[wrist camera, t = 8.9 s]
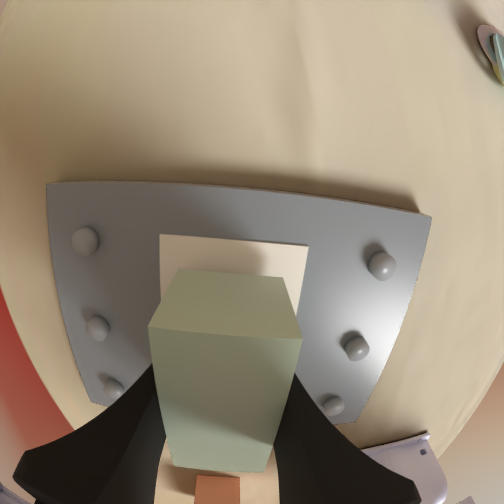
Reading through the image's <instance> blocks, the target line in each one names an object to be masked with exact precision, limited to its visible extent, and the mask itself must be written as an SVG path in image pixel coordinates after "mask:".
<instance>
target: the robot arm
mask: <svg viewBox="0 0 504 504" xmlns="http://www.w3.org/2000/svg"><path fill="white" fill-rule="evenodd" d="M429 437H430V433H425V434H422V435H419V436H415V437H412V438H409V439H405V440H401V441H398V442H394V443H390V444H385V445H381V446H377V447H372V448H367V449H362V450H360V449H358V448H357V447H356V446H355V445H354V444H352V443H351V442H350V441H349V440H348V439H347V438H346V437H345V436H344V435H343V434H342V433H340V432H339V431H338V429H337V428H336V427H335V426H334V425H333V424H332V423H331V422H330V421H329V420H328V418H327V417H326V416H325V415H324V414H323V413H322V411H321V410H320V409H319V407H318V406H317V405H316V403H315V402H314V401H313V399H312V398H311V397H310V395H309V394H308V392H307V391H306V389H305V388H304V386H303V385H302V383H301V382H300V380H299V378H298V377H297V375H296V373H295V372H294V376H293V380H292V383H291V387H290V391H289V394H288V398H287V401H286V405H285V408H284V412H283V415H282V418H281V422H280V425H279V428H278V431H277V435H276V438H275V441H274V444H273V445H274V451H275V457H276V462H277V468H278V477H279V496H280V504H442V503H443V502H444V500H445V498H446V496H447V490H448V486H447V480H446V477H445V474H444V472H443V470H442V468H441V466H440V464H439V463H438V460H437V458H436V457H435V455H434V453H433V451H432V449H431V447H430V445H429V443H428V441H427V439H428V438H429ZM165 439H166V433H165V428H164V424H163V419H162V414H161V410H160V405H159V399H158V394H157V388H156V383H155V377H154V370H153V364H152V363H151V364H150V366H149V367H148V368H147V369H146V370H145V371H144V373H143V374H142V375H141V376H140V377H139V378H138V379H137V380H136V381H135V382H134V384H133V385H132V386H131V387H130V388H129V389H128V390H127V391H126V392H125V393H124V394H123V395H122V396H120V397H119V398H118V399H117V400H116V401H115V402H114V403H113V404H112V405H111V406H109V407H108V408H107V409H106V410H105V411H103V412H102V413H101V414H99V415H98V416H97V417H95V418H94V419H92V420H91V421H89V422H88V423H86V424H85V425H83V426H82V427H80V428H79V429H77V430H75V431H73V432H72V433H70V434H67V435H65V436H63V437H62V438H59V439H57V440H55V441H53V442H51V443H48V444H45V445H43V446H40V447H37V448H34V449H31V450H27V451H25V452H24V454H23V456H22V457H21V459H20V461H19V463H18V465H17V467H16V470H15V472H14V474H13V479H14V481H15V482H16V483H17V484H18V485H19V486H21V487H22V488H23V489H24V490H25V491H27V492H28V493H29V494H30V495H32V496H33V497H34V498H35V499H36V501H35V503H34V504H154V495H155V487H156V479H157V472H158V466H159V461H160V457H161V453H162V450H163V446H164V443H165ZM0 504H31V503H29V502H27V501H26V500H24V499H22V498H21V497H19V496H18V495H16V494H15V493H13V492H12V491H10V490H9V489H7V488H6V487H5V486H3V485H2V484H1V483H0ZM457 504H475V503H474V501H473V499H472V497H471V496H469V497H467V498H466V499H464V500H462V501H460V502H459V503H457Z"/></svg>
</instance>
